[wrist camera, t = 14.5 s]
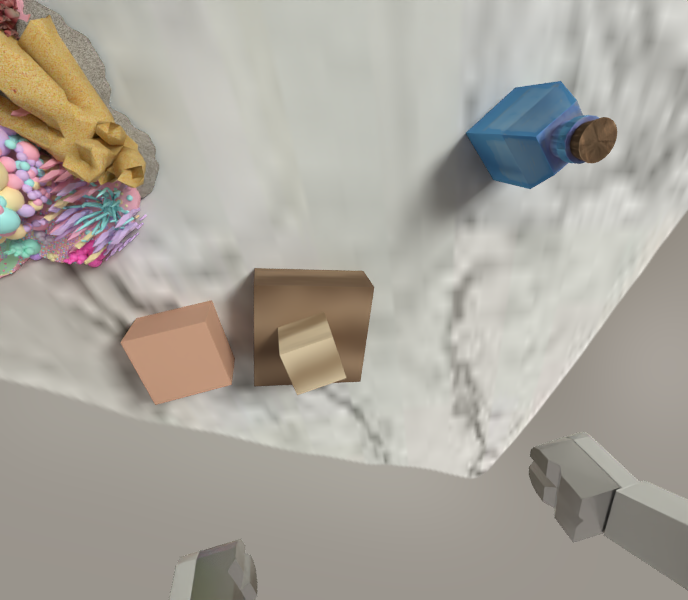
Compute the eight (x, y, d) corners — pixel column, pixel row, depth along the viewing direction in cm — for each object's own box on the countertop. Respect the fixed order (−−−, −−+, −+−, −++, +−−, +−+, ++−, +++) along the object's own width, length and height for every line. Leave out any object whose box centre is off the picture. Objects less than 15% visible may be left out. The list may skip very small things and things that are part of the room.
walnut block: (254, 267, 39) (253, 285, 34) (362, 269, 41) (374, 287, 37) (255, 359, 44) (254, 386, 39) (351, 357, 46) (360, 381, 42)
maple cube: (277, 327, 37) (279, 355, 32) (324, 311, 37) (332, 337, 33) (293, 364, 39) (297, 395, 35) (337, 349, 39) (346, 378, 35)
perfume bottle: (465, 132, 37) (547, 136, 26) (515, 87, 36) (621, 72, 25) (493, 179, 39) (577, 200, 29) (540, 139, 38) (645, 144, 28)
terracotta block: (136, 317, 38) (120, 342, 34) (211, 299, 39) (205, 321, 35) (166, 375, 42) (155, 404, 38) (234, 357, 43) (231, 384, 38)
